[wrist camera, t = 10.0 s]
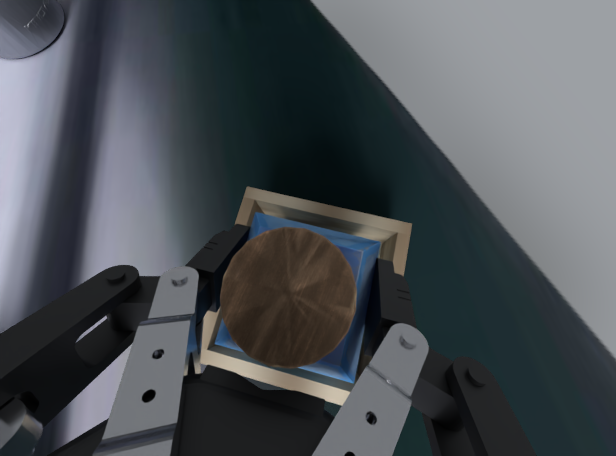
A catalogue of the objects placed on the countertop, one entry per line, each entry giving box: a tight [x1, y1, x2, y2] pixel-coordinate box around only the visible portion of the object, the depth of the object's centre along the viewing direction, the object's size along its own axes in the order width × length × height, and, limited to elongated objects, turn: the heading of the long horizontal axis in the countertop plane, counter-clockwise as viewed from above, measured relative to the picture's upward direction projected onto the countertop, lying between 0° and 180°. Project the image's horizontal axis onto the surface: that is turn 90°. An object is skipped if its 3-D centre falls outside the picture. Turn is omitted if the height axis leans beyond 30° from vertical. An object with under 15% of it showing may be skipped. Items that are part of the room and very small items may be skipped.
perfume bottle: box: [214, 212, 381, 384], centre depth 12 cm, size 6×6×12 cm
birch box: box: [200, 187, 412, 405], centre depth 19 cm, size 12×12×5 cm
